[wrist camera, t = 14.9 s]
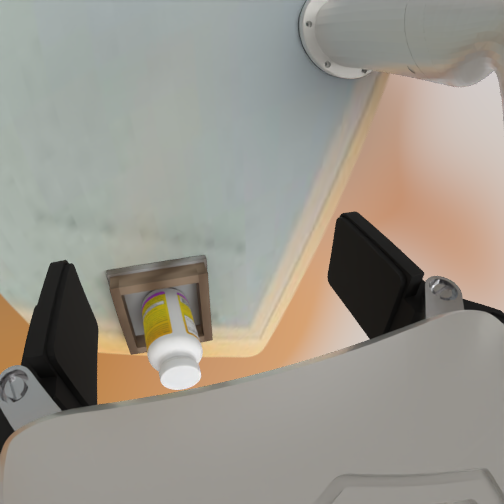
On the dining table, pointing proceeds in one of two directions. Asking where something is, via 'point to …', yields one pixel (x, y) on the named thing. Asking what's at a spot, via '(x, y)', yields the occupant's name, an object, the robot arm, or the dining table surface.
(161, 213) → the dining table surface
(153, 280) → the shallow square brown tray
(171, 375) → the supplement bottle
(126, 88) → the dining table surface
